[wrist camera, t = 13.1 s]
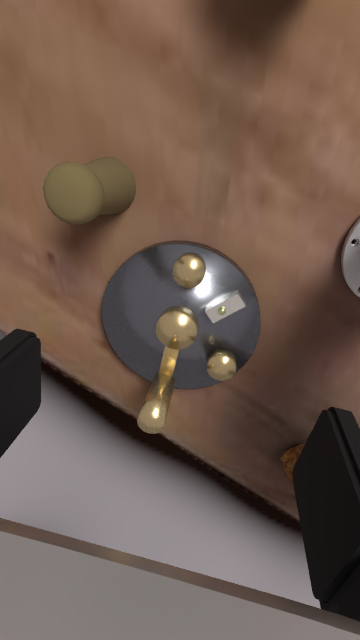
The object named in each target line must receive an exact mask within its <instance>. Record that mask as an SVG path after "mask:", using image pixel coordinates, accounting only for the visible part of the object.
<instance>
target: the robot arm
mask: <svg viewBox="0 0 360 640" xmlns="http://www.w3.org/2000/svg"><path fill="white" fill-rule="evenodd" d="M353 239H355V242H354V243H351V241H352V240H353ZM341 268H342V274H343V276H344V279H345V281H346V283H347V284H348V286H349V287H350V289H351V290H352V291H353V292H354V293H355V294H356V295H357V296H358V297H359V298H360V289H358V288H359V287H360V218H359V219H358V220H357V221H356V223H355V224H354V225H353V227H352V228H351V230H350V231H349V233H348V235H347V237H346V240H345V242H344V245H343V249H342V253H341ZM40 403H41V342H40V339H39V338H37V337H36V334H35V333H33V332H29V331H25V330H21V329H15V330H13V331H12V332H11V333H10V334H8V335H7V336H6V337H4V338H3V339H2V340H0V458H1V456H2V455H3V454H4V453H5V451H6V450H7V449H8V448H9V446H10V445H11V444H12V443H13V441H14V440H15V439H16V437H17V436H18V435H19V434H20V432H21V431H22V429H24V427H25V426H26V425H27V423H28V422H29V421H30V420H31V418H32V417H33V416H34V415H35V413H36V412H37V411H38V409H39V407H40ZM292 478H293V484H294V490H295V496H296V501H297V507H298V513H299V518H300V524H301V530H302V535H303V541H304V547H305V552H306V557H307V563H308V569H309V575H310V580H311V586H312V591H313V595H314V597H315V598H316V599H319V601H320V605H321V609H319V608H316V607H313V606H309V605H306V604H303V603H299V602H296V601H293V600H289V599H286V598H283V597H280V596H276V595H273V594H269V593H266V592H262V591H258V590H255V589H252V588H248V587H245V586H241V585H238V584H234V583H231V582H227V581H224V580H220V579H217V578H213V577H210V576H206V575H203V574H199V573H196V572H192V571H189V570H185V569H182V568H178V567H174V566H171V565H168V564H164V563H160V562H157V561H153V560H150V559H146V558H143V557H139V556H136V555H132V554H129V553H125V552H121V551H118V550H114V549H111V548H107V547H103V546H100V545H96V544H93V543H89V542H85V541H82V540H78V539H75V538H71V537H67V536H64V535H60V534H57V533H53V532H49V531H46V530H42V529H38V528H35V527H31V526H27V525H24V524H20V523H16V522H12V521H9V520H5V519H2V518H0V640H360V429H359V427H358V424H357V422H356V420H355V418H354V416H353V414H352V412H350V411H347V410H343V409H339V408H335V407H330V408H329V409H328V410H323V411H322V412H321V414H320V416H319V418H318V420H317V422H316V424H315V426H314V428H313V430H312V432H311V434H310V436H309V438H308V440H307V442H306V443H305V445H304V447H303V449H302V451H301V453H300V455H299V457H298V459H297V461H296V463H295V465H294V468H293V472H292Z"/></svg>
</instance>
